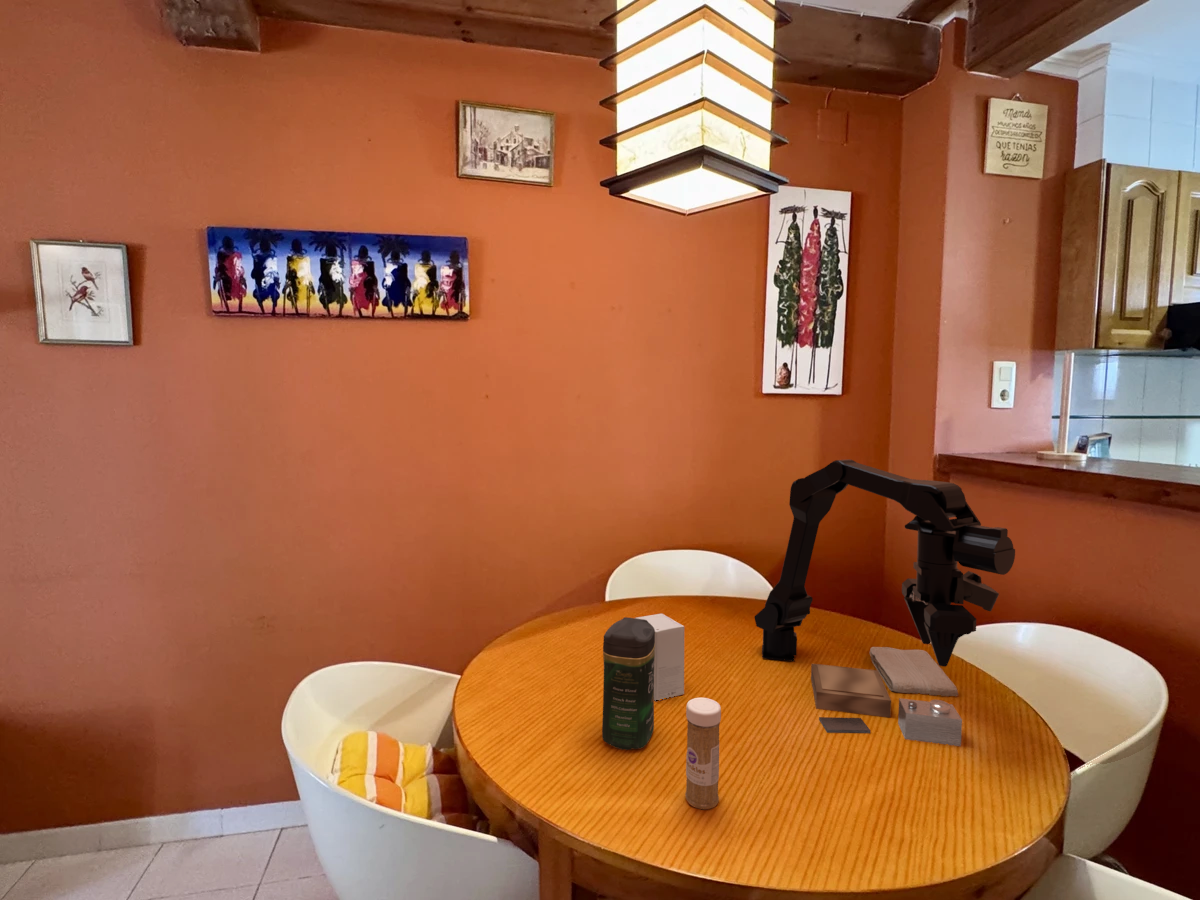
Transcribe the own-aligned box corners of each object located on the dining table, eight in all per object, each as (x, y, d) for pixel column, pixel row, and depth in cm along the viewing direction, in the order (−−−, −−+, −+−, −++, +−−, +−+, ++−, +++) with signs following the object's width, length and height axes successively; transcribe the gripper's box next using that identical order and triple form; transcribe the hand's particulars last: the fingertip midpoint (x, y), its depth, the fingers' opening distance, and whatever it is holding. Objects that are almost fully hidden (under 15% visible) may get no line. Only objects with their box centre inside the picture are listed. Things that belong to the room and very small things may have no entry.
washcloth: (924, 659, 128) (925, 645, 127) (961, 701, 110) (961, 684, 110) (865, 656, 130) (865, 642, 129) (891, 696, 112) (892, 679, 112)
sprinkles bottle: (678, 801, 82) (679, 705, 81) (696, 784, 85) (697, 692, 84) (708, 816, 79) (710, 716, 78) (725, 798, 82) (727, 703, 81)
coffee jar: (646, 756, 92) (647, 638, 91) (596, 747, 94) (596, 632, 93) (659, 724, 101) (659, 616, 100) (613, 717, 104) (613, 611, 102)
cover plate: (826, 735, 99) (827, 729, 99) (818, 722, 103) (819, 717, 103) (870, 736, 98) (870, 730, 98) (860, 723, 102) (860, 717, 102)
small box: (684, 694, 111) (685, 626, 110) (655, 702, 109) (655, 631, 108) (661, 677, 119) (662, 612, 118) (633, 683, 116) (633, 617, 115)
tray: (816, 708, 106) (816, 690, 106) (810, 678, 118) (811, 662, 118) (890, 717, 103) (891, 699, 103) (877, 685, 115) (878, 669, 115)
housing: (904, 740, 97) (906, 706, 96) (898, 724, 101) (899, 692, 101) (960, 747, 95) (962, 713, 94) (951, 730, 99) (952, 698, 99)
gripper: (1018, 579, 87) (1014, 684, 88) (972, 549, 105) (969, 637, 106) (932, 574, 90) (929, 676, 91) (902, 546, 108) (900, 632, 109)
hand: (934, 654), depth 99 cm, fingers open, 9 cm apart
